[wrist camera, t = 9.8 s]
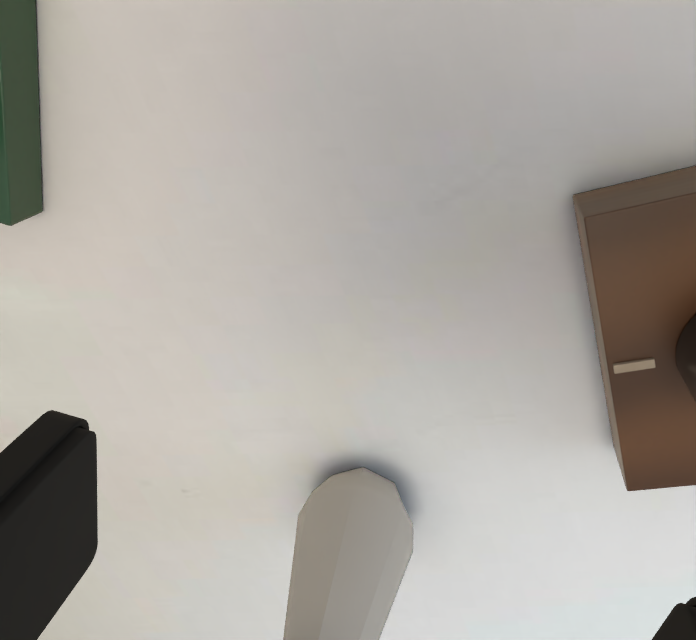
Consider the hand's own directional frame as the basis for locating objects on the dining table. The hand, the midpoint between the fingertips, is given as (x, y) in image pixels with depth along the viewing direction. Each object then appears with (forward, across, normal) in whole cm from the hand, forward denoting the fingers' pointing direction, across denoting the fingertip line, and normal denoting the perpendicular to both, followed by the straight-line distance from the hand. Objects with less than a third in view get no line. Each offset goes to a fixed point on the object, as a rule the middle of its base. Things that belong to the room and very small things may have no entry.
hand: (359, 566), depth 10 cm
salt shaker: (+18, 0, +15) cm, 23 cm away
